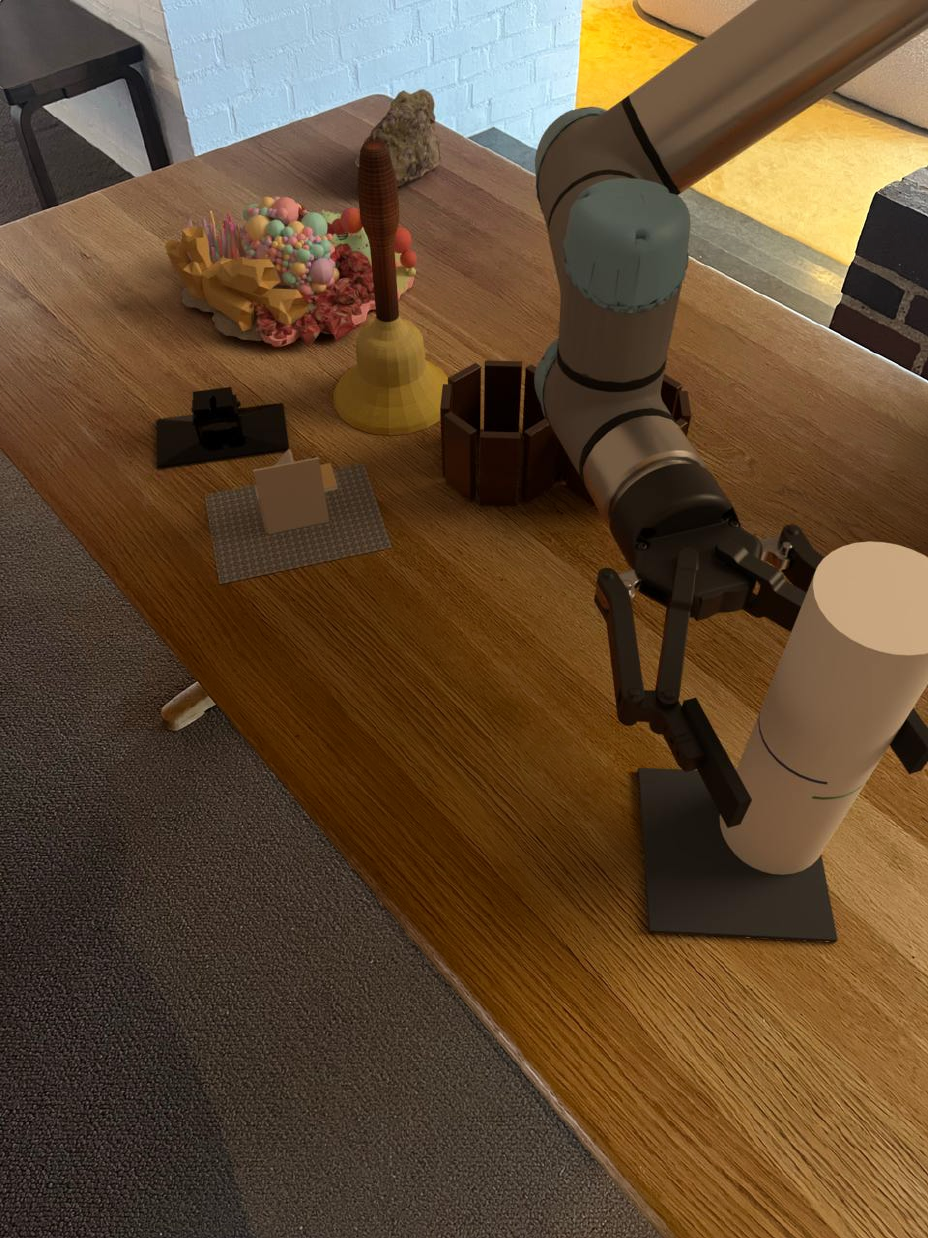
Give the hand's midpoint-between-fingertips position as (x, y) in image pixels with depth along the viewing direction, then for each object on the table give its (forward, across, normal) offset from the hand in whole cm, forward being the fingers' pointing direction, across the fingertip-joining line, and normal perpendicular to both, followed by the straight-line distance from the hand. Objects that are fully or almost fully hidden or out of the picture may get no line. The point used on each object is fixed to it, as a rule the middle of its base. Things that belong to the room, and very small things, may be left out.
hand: (833, 786), depth 50 cm
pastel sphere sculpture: (-81, +16, -17) cm, 84 cm away
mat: (-4, 0, -16) cm, 17 cm away
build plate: (-58, +27, -17) cm, 66 cm away
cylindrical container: (-5, -3, -16) cm, 17 cm away
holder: (-44, -2, -17) cm, 47 cm away
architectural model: (-44, +23, -17) cm, 53 cm away
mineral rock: (-103, -2, -17) cm, 104 cm away
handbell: (-59, +10, -17) cm, 62 cm away
